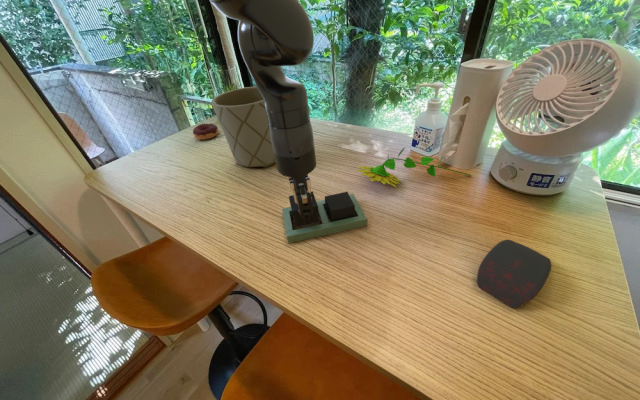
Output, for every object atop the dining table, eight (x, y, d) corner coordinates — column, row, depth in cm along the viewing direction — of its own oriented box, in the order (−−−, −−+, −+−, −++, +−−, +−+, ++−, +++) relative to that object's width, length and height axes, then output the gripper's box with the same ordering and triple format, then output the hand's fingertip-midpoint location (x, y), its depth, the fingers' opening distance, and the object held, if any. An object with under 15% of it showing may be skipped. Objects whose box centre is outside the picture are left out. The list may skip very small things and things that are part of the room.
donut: (214, 140, 99) (210, 131, 97) (190, 141, 101) (186, 132, 98) (223, 130, 107) (220, 121, 105) (201, 131, 108) (198, 122, 106)
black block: (319, 222, 55) (317, 206, 52) (295, 227, 54) (291, 211, 51) (314, 206, 59) (312, 191, 56) (291, 211, 58) (288, 196, 55)
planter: (298, 146, 89) (289, 86, 77) (271, 175, 75) (254, 107, 63) (253, 141, 95) (237, 85, 83) (220, 167, 82) (196, 105, 69)
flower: (449, 185, 74) (351, 164, 71) (463, 157, 71) (360, 133, 68) (472, 204, 64) (357, 180, 60) (490, 172, 60) (368, 145, 57)
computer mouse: (468, 281, 43) (475, 266, 40) (502, 239, 49) (510, 224, 47) (523, 315, 38) (534, 301, 35) (553, 264, 44) (565, 248, 42)
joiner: (367, 225, 55) (367, 218, 54) (288, 243, 53) (286, 236, 52) (353, 200, 63) (353, 193, 62) (283, 214, 61) (282, 208, 60)
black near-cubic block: (354, 221, 57) (354, 205, 54) (331, 226, 56) (330, 210, 53) (347, 206, 61) (347, 191, 58) (325, 211, 60) (324, 196, 58)
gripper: (270, 133, 51) (284, 199, 61) (275, 168, 40) (292, 242, 50) (306, 127, 52) (314, 193, 62) (322, 160, 40) (329, 234, 51)
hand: (304, 215), depth 56 cm, fingers closed on black block, 5 cm apart
